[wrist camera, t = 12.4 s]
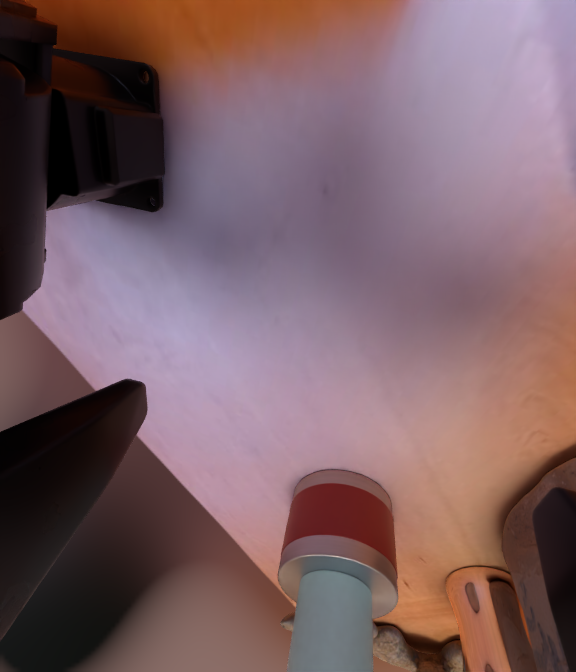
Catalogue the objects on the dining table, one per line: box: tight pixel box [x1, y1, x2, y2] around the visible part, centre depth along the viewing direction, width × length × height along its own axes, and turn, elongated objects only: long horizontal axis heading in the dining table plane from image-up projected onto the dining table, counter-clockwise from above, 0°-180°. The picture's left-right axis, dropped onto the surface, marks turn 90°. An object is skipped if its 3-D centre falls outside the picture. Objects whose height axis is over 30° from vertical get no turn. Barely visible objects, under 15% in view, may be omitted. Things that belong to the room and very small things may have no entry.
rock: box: [281, 612, 463, 672], centre depth 36 cm, size 20×5×7 cm
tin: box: [278, 470, 398, 619], centre depth 26 cm, size 8×8×6 cm
